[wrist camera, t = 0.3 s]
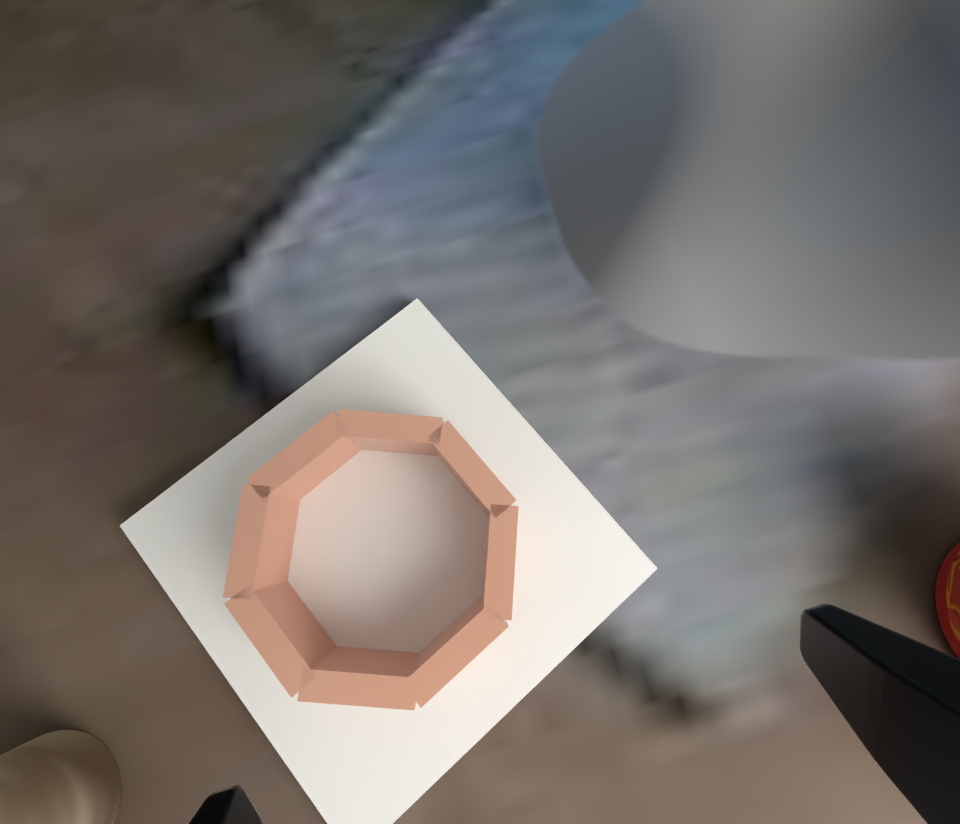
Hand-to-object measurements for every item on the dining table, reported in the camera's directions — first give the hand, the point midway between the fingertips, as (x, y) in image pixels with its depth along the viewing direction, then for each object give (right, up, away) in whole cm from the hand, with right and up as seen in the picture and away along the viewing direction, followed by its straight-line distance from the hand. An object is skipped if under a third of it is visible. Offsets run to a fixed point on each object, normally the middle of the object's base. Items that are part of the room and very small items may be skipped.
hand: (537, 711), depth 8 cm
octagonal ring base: (-5, -1, +15) cm, 15 cm away
